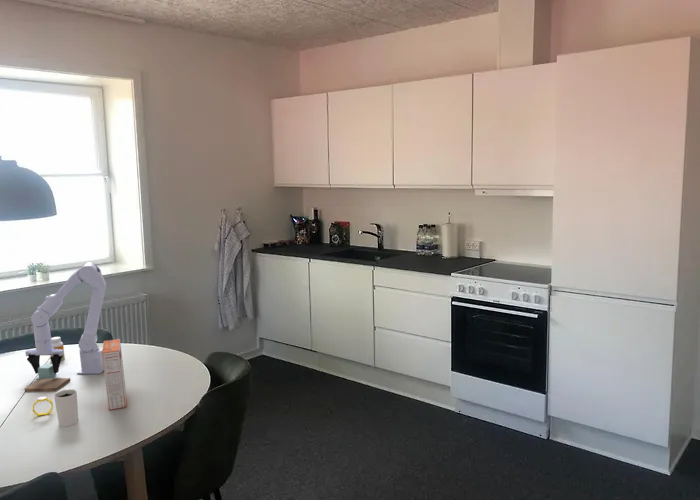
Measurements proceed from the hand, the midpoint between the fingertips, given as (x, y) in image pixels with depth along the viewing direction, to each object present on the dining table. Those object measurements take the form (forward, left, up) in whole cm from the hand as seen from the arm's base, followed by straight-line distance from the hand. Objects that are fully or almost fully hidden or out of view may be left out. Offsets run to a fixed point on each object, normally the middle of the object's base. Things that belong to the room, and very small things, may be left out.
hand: (47, 372), depth 232 cm
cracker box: (-40, +25, -2) cm, 47 cm away
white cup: (-31, +41, -2) cm, 51 cm away
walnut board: (-6, +10, -2) cm, 12 cm away
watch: (-19, +35, -2) cm, 40 cm away
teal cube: (0, 0, -2) cm, 2 cm away
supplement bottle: (+7, -20, -2) cm, 21 cm away
